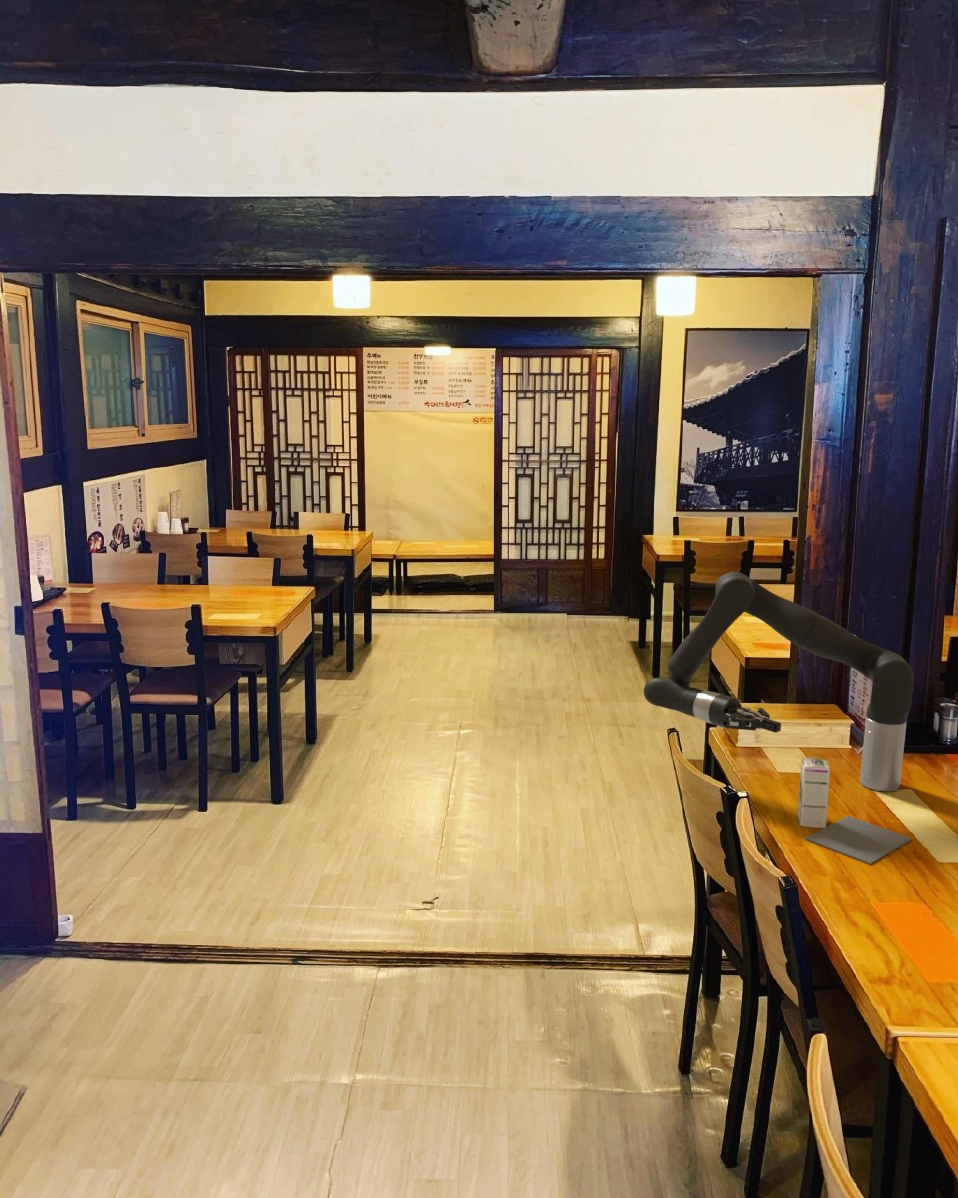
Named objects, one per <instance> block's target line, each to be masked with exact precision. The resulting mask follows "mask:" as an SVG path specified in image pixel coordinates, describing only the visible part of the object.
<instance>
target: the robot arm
mask: <svg viewBox="0 0 958 1198" xmlns="http://www.w3.org/2000/svg"><path fill="white" fill-rule="evenodd" d="M744 613H747V614H748V615H751V616H753V617H755V618H756V619H758V620H760V621H762V622H763V623H765V624H766V625H767V626H768V627H770V628H771V629H773V630H774V631H776V633H778V634H779V635H780V636H781V637H783V638H785V640H788V641H789V642H790V643H791V644H793V645H795V646H797V647H799V648H801V649H803V650H805V651H807V652H809V653H811V654H813V655H816V656H817V657H821V658H824V659H828V660H831V661H835V662H839V663H842V664H843V665H846V666H848V667H850V668H852V669H854V670H855V671H857V672H858V673H860V674H862V675H863V676H865V677H866V678H867V679H869V680H870V681H871V682H872V684H871V694H870V700H869V701H870V702H869V704H868V705H867V707H866V715H865V725H864V726H865V727H864V733H863V734H864V735H863V745H862V755H861V765H860V766H861V767H860V775H859V783H860V785H862V786H863V787H865V788H867V789H870V790H874V791H876V792H877V791H878V792H879V791H880V792H894V791H898V790H899V789H900V784H901V778H902V771H903V770H902V768H903V760H904V751H905V750H904V748H905V741H906V730H907V722H908V721H907V719H908V715H909V713H910V711H911V706H912V698H913V692H914V681H915V677H914V671H913V668H912V667H911V666H910V665H909V663H908V662H907V661H906V660H905V658H903V656H902V655H899V654H898V653H896V652H893V651H890V650H888V649H885V648H883V647H880V646H877V645H875V644H872V643H870V642H868V641H866V640H863V639H862V638H859V637H858V636H857V635H855V634H853V633H852V632H850V630H847V629H846V628H844V627H842V626H841V625H839V624H837V623H835V622H833V621H832V620H830V619H828V618H827V617H825V616H823V615H821V614H819V613H818V612H815V611H813V610H811V609H809V608H806V607H805V606H802V605H800V604H798V603H796V602H794V601H792V600H789V599H786V598H784V597H782V596H779V595H778V594H775V593H773V592H772V591H770V590H768V589H767V588H765V587H764V586H762V585H760V584H759V583H757V582H756V581H755V580H753V579H752V578H751V577H749V576H747V575H746V574H744V573H742V572H737V571H730V572H727V573H725V574H723V575H721V576H720V577H719V578H718V580H717V581H716V584H715V596H714V599H713V601H712V603H711V605H710V607H709V609H708V611H707V612H706V614H705V615H704V617H703V618H702V619H701V621H700V622H699V623H698V624H697V625H696V627H694V629H693V630H692V631H691V632H690V633H689V634H688V635H687V636H686V637H685V638H684V640H683V641H681V643H680V645H679V646H678V647H677V649H676V651H674V653H673V655H672V656H671V657H670V659H669V661H668V662H667V668H668V670H669V676H668V677H667V679H664V678H662V677H654V678H651V679H649V680H648V681H647V682H646V683H645V684H644V687H643V695H644V698H645V700H646V701H647V702H648V703H649V704H651V705H653V706H657V707H659V708H663V709H668V710H671V711H672V710H673V711H676V712H679V713H682V714H685V715H687V716H688V717H689V716H690V717H691V718H692V717H693V718H696V719H699V720H701V721H703V722H705V723H709V724H711V725H714V726H718V727H721V728H725V729H727V730H728V729H732V730H743V731H756V730H760V731H761V730H766V731H769V732H772V733H774V734H775V733H779V732H781V730H782V723H781V722H780V721H777V720H773V719H770V717H771V715H770V714H769V713H768V712H767V711H766V710H765V709H764V708H763V707H758V708H757V710H753V709H752V708H751V707H747V706H745V707H744V706H743V705H742V704H741V702H740V701H739V699H737V698H735V697H731V696H728V695H724V694H722V693H718V692H714V691H709V690H704V689H700V688H697V687H692V686H690V684H691V682H692V678H693V676H694V675H695V674H696V673H697V671H698V670H699V668H700V667H701V665H702V664H703V662H704V661H705V660H706V658H707V657H708V656H709V654H710V653H711V651H713V650H712V649H714V648H715V645H716V644H717V643H718V641H719V640H720V638H721V637H722V636H723V635H724V633H726V631H727V630H728V629H729V628H730V627H731V626H732V625H733V624H734V623H735V621H737V620H738V619H739V618H740V617H741V616H742V615H743V614H744Z"/></svg>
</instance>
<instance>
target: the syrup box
mask: <svg viewBox="0 0 958 1198" xmlns="http://www.w3.org/2000/svg"><path fill="white" fill-rule="evenodd" d="M830 775H831V767H830V765H829V762H828V759H825V758H819V757H801V766H800V777H799V790H798V791H799V792H798V794H799V795H798V807H797V818H798V822H799V826H801V827H806V828H814V829H815V828H816V829H824V828H826V827H827V818H828V805H829V804H828V803H829V789H830Z"/></svg>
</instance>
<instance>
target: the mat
mask: <svg viewBox="0 0 958 1198" xmlns="http://www.w3.org/2000/svg"><path fill="white" fill-rule="evenodd" d="M804 839H805V841H807V842H809V843H812V844H815V845H818V846H821V847H823V848H825V849H828V848H829V849H828V850H830V849H831V851H833V852H836V853H838V852H839V854H840V855H841V854H842V855H843V854H845V855H844V856H846V855H847V857H849V858H851V857H852V859H854V860H857V861H860V862H862V863H864V862H866V863H865V864H867V863H868V864H867V865H869V864H871V865H873V864H874V863H876V862H878V861H879V860H881V859H882V857H883V856H884V857H886V856H887V855H886V854H888V853H889V854H891V853H892V851H893V850H894V851H896V850H897V849H896V848H898V849H899V848H901V847H902V846H904V845H906V844H907V843H910V842H911V841H912V840H913V838H912V837H909V836H907V835H903V834H900V833H897V832H895V831H892V830H890V829H886V828H884V827H881V826H879V825H875V824H872V823H870V822H866V821H864V820H862V819H858V818H855V817H853V816H849V815H848V816H845V817H843V818H841V819H839V820H837V821H836V822H834V823H832V824H829V825H828V826H826V828H821V830H818V831H816V832H815V833H812V834H810V835H808V836H807V837H804ZM895 849H896V850H895ZM894 851H893V852H894ZM890 852H891V853H890ZM889 854H888V855H889ZM885 855H886V856H885ZM884 857H883V858H884ZM880 858H881V859H880ZM875 861H876V862H875ZM873 862H874V863H873Z"/></svg>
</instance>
